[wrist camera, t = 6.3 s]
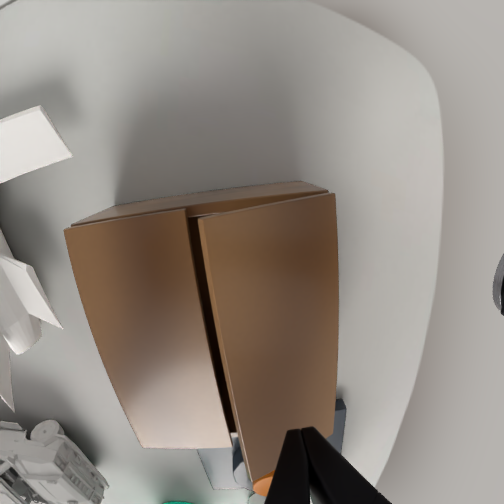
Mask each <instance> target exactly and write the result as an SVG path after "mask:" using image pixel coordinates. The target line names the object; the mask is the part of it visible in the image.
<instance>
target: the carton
mask: <svg viewBox="0 0 504 504" xmlns="http://www.w3.org/2000/svg"><path fill="white" fill-rule="evenodd" d="M324 193H329V192H328V190H326V189H323V188H320V187H318V186H315V185H312V184H309V183H306V182H303V181H294V182H283V183H273V184H263V185H254V186H245V187H237V188H228V189H220V190H213V191H205V192H198V193H191V194H184V195H177V196H170V197H164V198H157V199H151V200H145V201H139V202H133V203H127V204H121V205H116V206H113V207H110V208H108V209H105V210H103V211H101V212H98V213H96V214H94V215H91V216H89V217H87V218H85V219H82V220H80V221H78V222H76V223H73V224H71V227H68V228H66V229H64V235H65V240H66V244H67V249H68V253H69V257H70V261H71V265H72V269H73V273H74V277H75V280H76V284H77V287H78V291H79V294H80V298H81V301H82V304H83V308H84V311H85V314H86V317H87V320H88V323H89V326H90V329H91V332H92V335H93V337H94V340H95V343H96V346H97V348H98V351H99V354H100V356H101V359H102V362H103V364H104V367H105V369H106V371H107V374H108V376H109V379H110V381H111V383H112V386H113V388H114V390H115V393H116V395H117V397H118V399H119V402H120V404H121V406H122V408H123V410H124V412H125V414H126V416H127V419H128V421H129V423H130V425H131V427H132V429H133V431H134V433H135V435H136V436H137V438H138V440H139V442H140V444H141V446H142V448H160V449H203V448H226V447H233V441H232V437H238V434H237V429H236V425H235V421H234V416H233V412H232V407H231V402H230V398H229V393H228V388H227V383H226V379H225V374H224V369H223V364H222V359H221V354H220V348H219V343H218V338H217V333H216V327H215V322H214V316H213V311H212V305H211V300H210V294H209V288H208V282H207V276H206V270H205V264H204V258H203V251H202V245H201V238H200V232H199V225H198V218H201V217H205V216H210V215H215V214H219V213H224V212H229V211H234V210H239V209H244V208H249V207H254V206H259V205H264V204H269V203H274V202H280V201H285V200H290V199H296V198H301V197H307V196H312V195H318V194H324Z"/></svg>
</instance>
